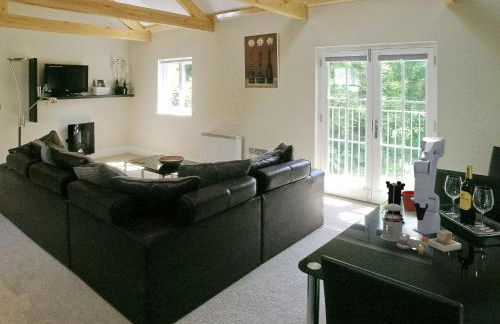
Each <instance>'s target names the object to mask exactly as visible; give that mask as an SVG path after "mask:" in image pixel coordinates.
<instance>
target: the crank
mask: <svg viewBox="0 0 500 324" xmlns="http://www.w3.org/2000/svg"><path fill="white" fill-rule="evenodd" d="M428 239H429V237H428V236H422V237H421V238H418V237H414V236H411V235H410V234H407V233H401V234H400V238H399V243H401V244H408V245H412V247H417V248H419V245H424V249H428V247H429V245H428V241H429V240H428Z"/></svg>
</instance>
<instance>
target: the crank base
mask: <svg viewBox="0 0 500 324" xmlns="http://www.w3.org/2000/svg"><path fill="white" fill-rule="evenodd" d="M396 247H397V248H398V249H401V250H414V251H416V250H417V248H414V247H413V246H412V245H408V244H401V243H399V241H396ZM424 249H425V248H424V245H419V247H418V250H417V251H418V252H417V254H418V255H420V256H422V255H424Z"/></svg>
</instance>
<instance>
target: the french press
mask: <svg viewBox="0 0 500 324" xmlns="http://www.w3.org/2000/svg"><path fill="white" fill-rule="evenodd" d="M391 183H392V185H394V186H396V184H397V182H391ZM382 208H383V210H382V211H381V214H383V213H384V215H383V216H381V219H382V220H381V221H382V234H380V236H379V237H380V239H382V240H384V241H388V242H398V241H399V238H400V234H402V226H403V224H402V220H401V216H399V215H393V214H387V215H386V212H388V210H390V211H401V212H402V210H403V209H404V207H402V205H401V206H399V205H397V204H394V193H393V204H388V203H387V204H385V205H384V206H383V207H382ZM384 210H385V212H384ZM383 218H384V219H383ZM387 219H388V222H387V221H386V220H387ZM394 221H400V222H394Z"/></svg>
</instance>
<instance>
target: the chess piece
mask: <svg viewBox="0 0 500 324" xmlns="http://www.w3.org/2000/svg"><path fill="white" fill-rule="evenodd" d="M392 183H393V182H391V181H390V180H385V184H386V189H388V192H387V193H386V194H387V197H388V198H387V205H388V204H393V193H394V204H397V205H399V206H401V207H402V196H403V195H402V192H403V191H405V187H406V183H405V182H403V183H402V181H401V180H396V186H394V185H392ZM387 211H388V212H386V211H385V212H386V215H387V214H393V215H399V216H401V220H402V225H404V224H405V221H404V219H405V218H404V217H403V216H404V215H403V214H402V213H401V212H402V210H401V211H390V210H387ZM384 218H385V217H383V219H384ZM386 221H387V222H388V219H387V220H386ZM394 222H400V221H394Z"/></svg>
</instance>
